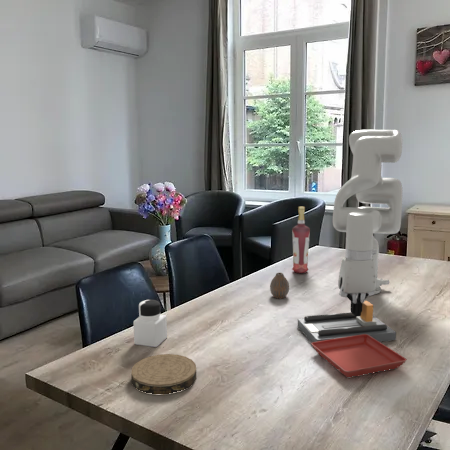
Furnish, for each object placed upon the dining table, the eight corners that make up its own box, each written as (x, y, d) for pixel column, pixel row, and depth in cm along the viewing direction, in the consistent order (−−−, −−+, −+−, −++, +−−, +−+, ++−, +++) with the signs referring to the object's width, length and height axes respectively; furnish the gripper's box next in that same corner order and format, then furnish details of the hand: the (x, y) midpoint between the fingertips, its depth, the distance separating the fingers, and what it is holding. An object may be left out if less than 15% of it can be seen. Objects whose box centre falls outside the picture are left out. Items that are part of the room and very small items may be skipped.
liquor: (310, 274, 210) (311, 208, 204) (292, 274, 210) (293, 208, 204) (307, 269, 217) (309, 205, 211) (290, 269, 217) (291, 205, 212)
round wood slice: (203, 390, 119) (203, 378, 118) (135, 401, 114) (135, 389, 114) (189, 361, 134) (188, 350, 133) (128, 369, 129) (127, 358, 129)
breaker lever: (368, 319, 153) (369, 299, 152) (376, 325, 149) (377, 305, 147) (356, 320, 153) (356, 300, 152) (363, 326, 148) (364, 306, 147)
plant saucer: (309, 353, 138) (309, 341, 137) (366, 343, 143) (366, 332, 143) (345, 384, 121) (345, 371, 120) (407, 372, 126) (408, 359, 126)
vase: (288, 293, 186) (289, 270, 184) (289, 300, 179) (289, 276, 177) (270, 293, 187) (270, 270, 185) (269, 299, 180) (270, 276, 178)
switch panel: (369, 320, 160) (369, 307, 159) (395, 340, 144) (396, 327, 144) (297, 326, 155) (297, 313, 154) (316, 348, 140) (317, 334, 139)
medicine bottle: (167, 337, 148) (166, 299, 146) (156, 347, 141) (154, 307, 139) (145, 334, 150) (144, 296, 148) (133, 344, 144) (132, 304, 141)
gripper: (376, 250, 151) (373, 308, 154) (329, 252, 149) (327, 311, 152) (388, 256, 144) (385, 317, 147) (339, 258, 141) (337, 320, 145)
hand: (356, 314), depth 150 cm, fingers closed
